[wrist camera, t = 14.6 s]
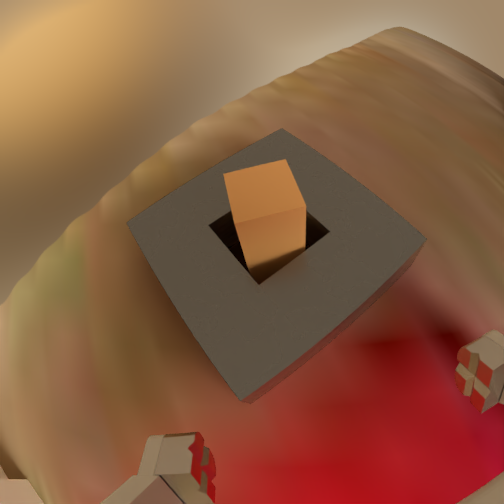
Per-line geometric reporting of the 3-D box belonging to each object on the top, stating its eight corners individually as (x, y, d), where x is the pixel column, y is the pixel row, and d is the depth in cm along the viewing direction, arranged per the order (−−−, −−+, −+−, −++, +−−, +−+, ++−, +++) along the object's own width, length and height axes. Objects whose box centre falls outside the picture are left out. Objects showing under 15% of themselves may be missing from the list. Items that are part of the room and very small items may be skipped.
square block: (290, 231, 25) (285, 159, 18) (304, 272, 23) (306, 205, 16) (243, 242, 25) (223, 174, 18) (253, 285, 23) (234, 223, 16)
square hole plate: (284, 159, 30) (281, 128, 26) (410, 266, 22) (427, 238, 18) (145, 248, 26) (126, 222, 23) (250, 403, 18) (240, 401, 15)
